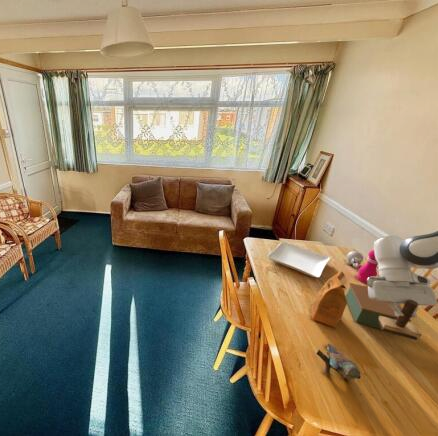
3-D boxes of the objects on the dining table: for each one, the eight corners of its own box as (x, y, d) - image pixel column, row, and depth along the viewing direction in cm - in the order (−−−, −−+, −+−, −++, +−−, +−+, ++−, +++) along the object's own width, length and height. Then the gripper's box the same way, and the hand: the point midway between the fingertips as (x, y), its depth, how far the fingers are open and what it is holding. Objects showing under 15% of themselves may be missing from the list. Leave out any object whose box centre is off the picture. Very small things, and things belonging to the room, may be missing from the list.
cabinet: (384, 306, 107) (392, 292, 103) (403, 336, 92) (413, 321, 89) (343, 295, 113) (349, 282, 109) (354, 322, 98) (362, 308, 95)
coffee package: (338, 312, 103) (357, 274, 94) (336, 331, 95) (357, 290, 85) (312, 302, 109) (327, 264, 100) (308, 318, 100) (324, 279, 91)
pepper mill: (371, 278, 124) (387, 247, 116) (374, 286, 119) (392, 254, 110) (354, 273, 128) (368, 243, 119) (356, 281, 122) (372, 249, 114)
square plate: (329, 261, 138) (331, 256, 136) (317, 283, 121) (319, 277, 119) (281, 244, 156) (282, 239, 154) (265, 261, 139) (266, 255, 137)
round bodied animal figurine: (345, 269, 131) (350, 257, 128) (343, 259, 140) (348, 247, 137) (361, 273, 128) (367, 261, 124) (358, 263, 137) (364, 251, 133)
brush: (410, 330, 87) (428, 302, 81) (417, 341, 82) (436, 311, 77) (376, 321, 91) (390, 293, 85) (381, 330, 86) (397, 302, 81)
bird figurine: (311, 337, 91) (331, 327, 75) (342, 349, 87) (369, 341, 71) (308, 374, 85) (329, 371, 69) (341, 388, 81) (371, 389, 65)
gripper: (372, 274, 86) (381, 314, 81) (434, 279, 83) (447, 320, 79) (360, 276, 92) (367, 313, 87) (417, 281, 89) (428, 319, 85)
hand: (406, 316), depth 83 cm, fingers closed on brush, 3 cm apart
